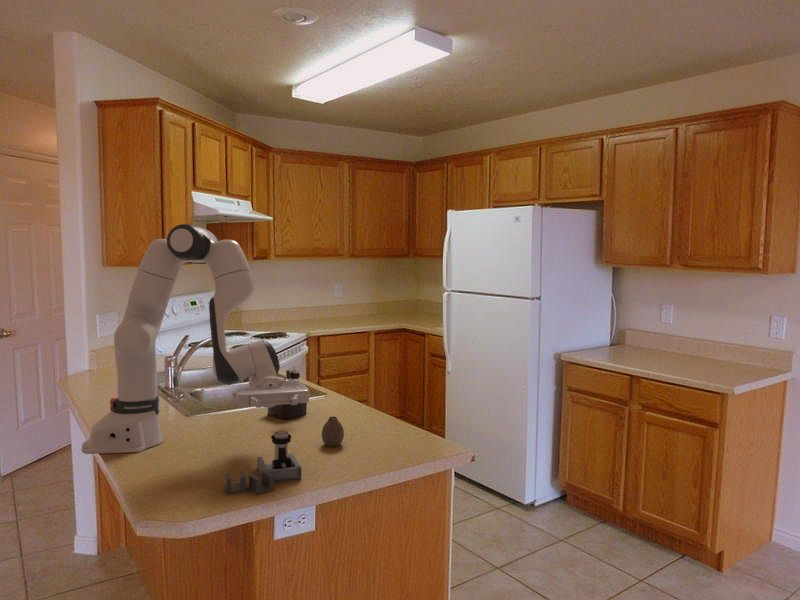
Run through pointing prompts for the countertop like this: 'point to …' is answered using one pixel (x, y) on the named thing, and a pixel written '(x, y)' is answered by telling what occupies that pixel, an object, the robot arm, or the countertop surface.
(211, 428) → the countertop surface
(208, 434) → the countertop surface
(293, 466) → the end holder
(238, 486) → the clip
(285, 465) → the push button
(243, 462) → the countertop surface
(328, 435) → the vase
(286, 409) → the black box with knob
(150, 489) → the countertop surface
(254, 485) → the clip
